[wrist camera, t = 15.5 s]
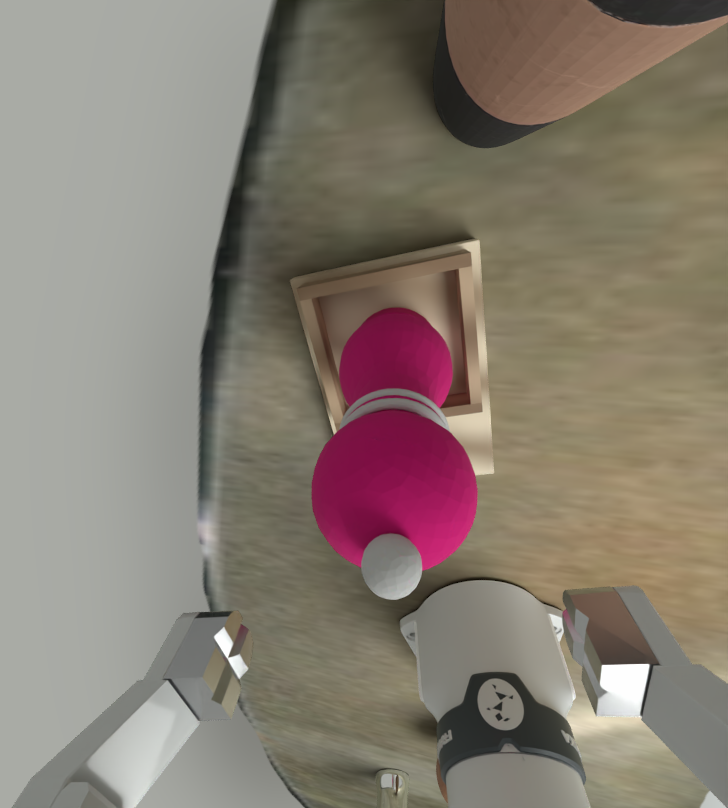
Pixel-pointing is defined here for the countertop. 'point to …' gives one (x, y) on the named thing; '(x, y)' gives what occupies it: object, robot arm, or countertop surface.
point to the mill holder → (418, 291)
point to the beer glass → (392, 788)
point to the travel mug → (550, 57)
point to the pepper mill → (394, 457)
